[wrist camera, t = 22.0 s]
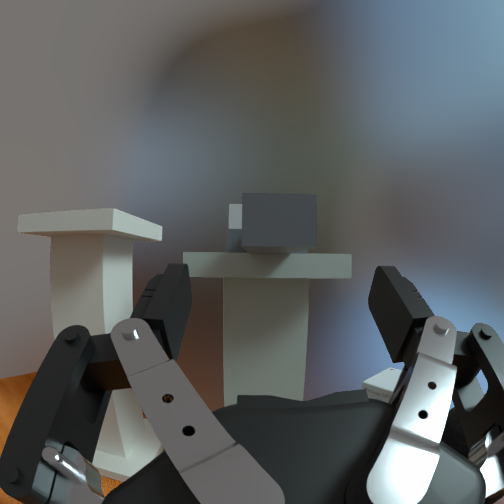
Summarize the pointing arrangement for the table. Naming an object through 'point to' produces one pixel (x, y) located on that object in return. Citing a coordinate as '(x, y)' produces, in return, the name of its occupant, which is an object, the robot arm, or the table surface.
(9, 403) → the table surface
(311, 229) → the block
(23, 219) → the tall pedestal
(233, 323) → the low pedestal
